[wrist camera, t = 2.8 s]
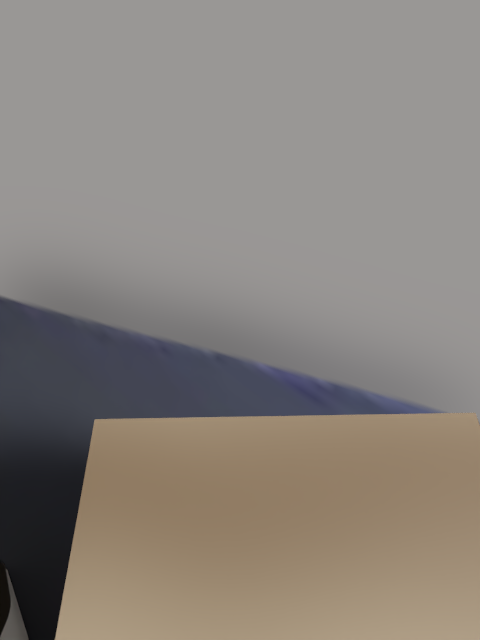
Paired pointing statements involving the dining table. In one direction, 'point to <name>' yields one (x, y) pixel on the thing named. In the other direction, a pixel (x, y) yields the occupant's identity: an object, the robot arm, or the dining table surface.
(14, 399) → the dining table surface
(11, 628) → the box
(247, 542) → the wood block
